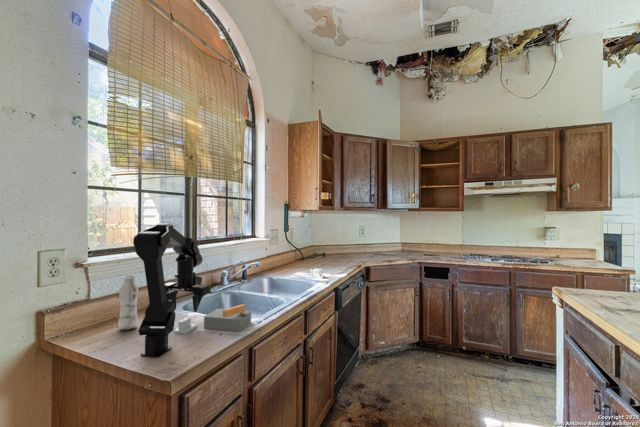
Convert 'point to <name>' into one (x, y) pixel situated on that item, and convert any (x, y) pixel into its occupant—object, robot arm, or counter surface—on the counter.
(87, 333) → the counter surface
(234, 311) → the orange square pillar
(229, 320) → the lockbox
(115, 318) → the counter surface
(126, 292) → the plastic bottle
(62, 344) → the counter surface
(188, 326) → the cover
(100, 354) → the counter surface
